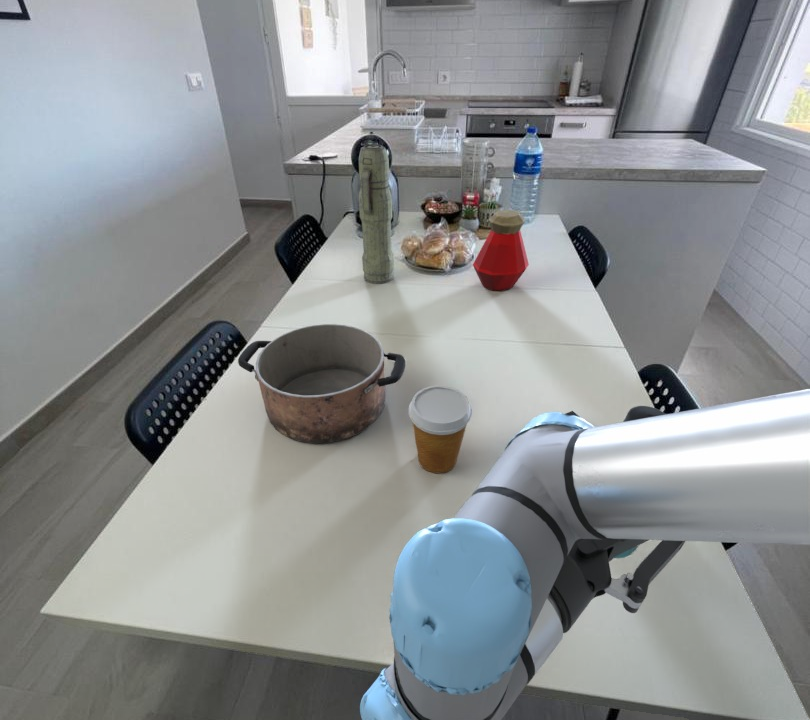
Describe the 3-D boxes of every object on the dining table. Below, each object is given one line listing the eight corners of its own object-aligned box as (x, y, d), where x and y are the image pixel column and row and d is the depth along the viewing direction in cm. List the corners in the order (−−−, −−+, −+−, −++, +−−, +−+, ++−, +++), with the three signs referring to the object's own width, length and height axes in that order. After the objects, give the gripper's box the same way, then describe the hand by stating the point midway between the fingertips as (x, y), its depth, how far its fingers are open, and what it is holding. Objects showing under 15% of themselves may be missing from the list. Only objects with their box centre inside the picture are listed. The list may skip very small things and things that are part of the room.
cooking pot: (225, 433, 78) (209, 386, 72) (277, 360, 96) (268, 317, 90) (392, 456, 74) (390, 407, 68) (414, 375, 92) (414, 330, 85)
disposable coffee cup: (478, 457, 74) (485, 402, 67) (441, 492, 68) (444, 435, 61) (434, 429, 79) (436, 375, 72) (396, 459, 73) (395, 404, 66)
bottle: (503, 269, 134) (512, 201, 122) (536, 286, 124) (549, 215, 113) (461, 281, 127) (466, 210, 116) (491, 300, 118) (500, 225, 106)
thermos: (357, 284, 126) (347, 150, 106) (370, 267, 136) (363, 141, 115) (387, 287, 125) (383, 151, 104) (398, 270, 134) (396, 142, 114)
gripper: (441, 545, 46) (564, 435, 58) (626, 718, 34) (730, 534, 46) (444, 498, 41) (577, 391, 54) (658, 679, 29) (763, 487, 42)
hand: (648, 457), depth 50 cm, fingers closed on beverage bottle, 6 cm apart
